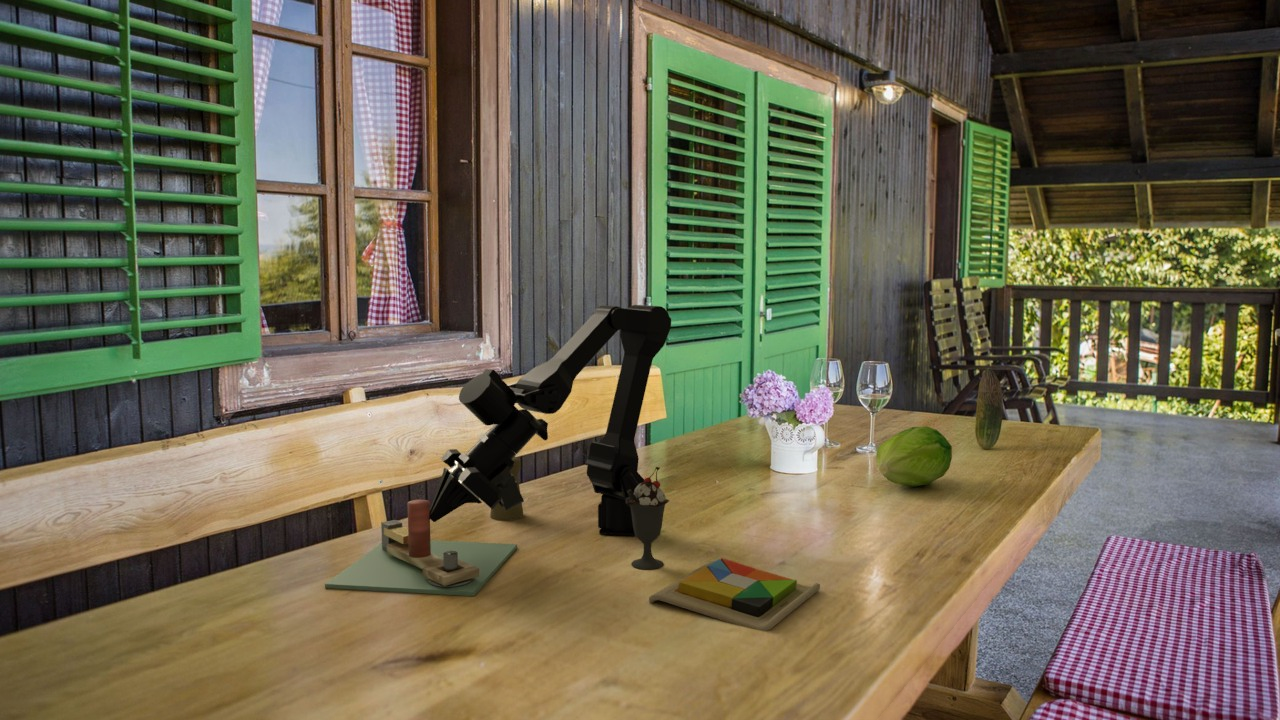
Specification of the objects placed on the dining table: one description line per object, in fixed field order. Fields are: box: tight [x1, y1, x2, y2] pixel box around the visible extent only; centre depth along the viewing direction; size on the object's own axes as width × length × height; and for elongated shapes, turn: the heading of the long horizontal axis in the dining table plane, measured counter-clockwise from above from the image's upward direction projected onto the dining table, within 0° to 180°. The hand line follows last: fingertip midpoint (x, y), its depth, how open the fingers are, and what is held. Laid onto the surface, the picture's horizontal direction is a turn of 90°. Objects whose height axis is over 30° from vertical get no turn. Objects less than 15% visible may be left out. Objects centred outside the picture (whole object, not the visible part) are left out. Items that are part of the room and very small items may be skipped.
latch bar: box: [387, 499, 479, 586], centre depth 139 cm, size 19×6×9 cm, turn 44°
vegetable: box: [974, 367, 1004, 450], centre depth 230 cm, size 6×6×20 cm
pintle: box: [428, 551, 474, 588], centre depth 135 cm, size 6×6×5 cm
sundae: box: [626, 466, 670, 571], centre depth 143 cm, size 7×7×15 cm
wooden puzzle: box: [648, 557, 821, 632], centre depth 130 cm, size 18×19×4 cm
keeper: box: [380, 519, 409, 552], centre depth 147 cm, size 8×3×5 cm, turn 41°
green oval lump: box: [875, 426, 953, 487], centre depth 191 cm, size 14×20×12 cm
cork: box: [489, 456, 525, 522], centre depth 170 cm, size 6×6×11 cm
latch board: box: [324, 539, 518, 597], centre depth 143 cm, size 22×22×1 cm
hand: (430, 519), depth 141 cm, fingers closed, pressing on latch bar
